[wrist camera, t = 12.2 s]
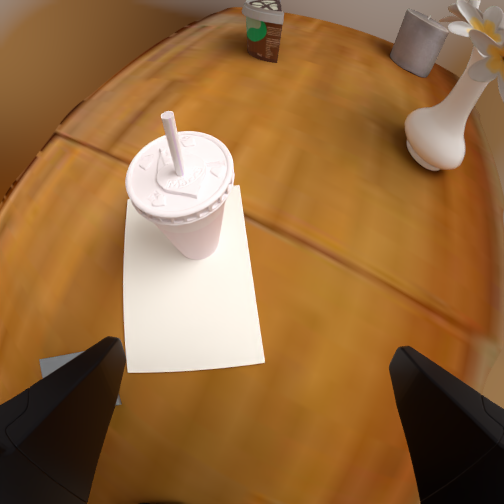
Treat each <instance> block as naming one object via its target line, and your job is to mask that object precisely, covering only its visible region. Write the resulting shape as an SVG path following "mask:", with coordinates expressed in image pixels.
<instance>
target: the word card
mask: <svg viewBox="0 0 504 504" xmlns="http://www.w3.org/2000/svg"><path fill="white" fill-rule="evenodd" d="M83 352H84V351H83ZM83 352H78V353H73V354H68V355H62V356H57V357H51V358H45V359H39V361H40V366H41V372H42V376H43V378H44V377H46V376H47V375H49V374H50V373H52V372H54V371H55V370H57V369H58V368H60V367H61V366H63V365H64V364H66V363H67V362H69V361H70V360H72V359H73V358H75V357H76V356H78V355H79V354H81V353H83ZM121 404H122V403H121V400H120V397H119V394H118V398H117V402H116V405H121Z"/></svg>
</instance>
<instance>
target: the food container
mask: <svg viewBox="0 0 504 504" xmlns="http://www.w3.org/2000/svg"><path fill="white" fill-rule="evenodd" d="M280 2H281V0H246V2H245V3H244V6H243V9H242V13H243V14H244V15H245V16H246V25H247V50H248V53H249V54H250V55H251V56H253V57H255V58H257V59H260V60H264V61H268V62H274V63H277V59H278V52H279V45H280V38H281V31H282V25H283V18H284V12H282V11H281V4H280Z"/></svg>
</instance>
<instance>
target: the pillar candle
mask: <svg viewBox="0 0 504 504" xmlns="http://www.w3.org/2000/svg"><path fill="white" fill-rule="evenodd" d="M430 17H431V15H430V16H429V17H428V16H426V15H424V14H422V13H420V12H417V11H415V10H412V9H407V11H406V14H405V16H404V19H403V22H402V25H401V27H400V30H399V33H398V36H397V38H396V41H395V43H394V46H393V48H392V51H391V53H390V57H391V59H392V60H393V61H394V62H395V63H396V64H397V65H399V66H400V67H401V68H403V69H405V70H407V71H409V72H411V73H413V74H415V75H417V76H420V77H427V76H428V74H429V73H430V71H431V69H432V67H433V65H434V63H435V61H436V59H437V56H438V54H439V52H440V50H441V48H442V46H443V44H444V42H445V39H446V37H447V35H448V33H449V31H448V30H447V29H446V28H445V27H444V26H442V25H441V24H439V23H438V22H436V21H435V20H433V19H431V18H430Z"/></svg>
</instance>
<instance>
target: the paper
mask: <svg viewBox="0 0 504 504" xmlns="http://www.w3.org/2000/svg"><path fill="white" fill-rule="evenodd" d="M123 303H124V330H125V346H126V359H127V369H128V373H148V372H176V371H193V370H206V369H217V368H227V367H236V366H244V365H252V364H259V363H265V360H264V353H263V346H262V340H261V333H260V326H259V319H258V312H257V305H256V298H255V292H254V285H253V278H252V271H251V264H250V257H249V250H248V243H247V236H246V229H245V222H244V215H243V208H242V201H241V194H240V187H239V185H237V186H233V188H232V190H231V192H230V194H229V196H228V198H227V199H226V201H225V207H224V213H223V219H222V226H221V232H220V238H219V244H218V247H217V249H216V250H215V252H214V253H213V254H212V255H210V256H209V257H207V258H205V259H201V260H193V259H189V258H187V257H185V256H184V255H183V254H182V253H181V252H180V251H179V250H178V249H177V248H176V247H175V246H174V245H173V244H172V242H171V241H170V240H169V239H168V238H167V237H166V236H165V235H164V234H163V232H162V231H161V230H160V229H159V228H158V227H157V226H156V225H155V224H154V223H153V222H151V221H148V220H147V219H146V218H144V217H143V216H142V215H140V214H139V213H138V212H137V211H136V209H135V208H134V206H133V205H132V203H131V199H128V203H127V214H126V227H125V243H124V271H123Z"/></svg>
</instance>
